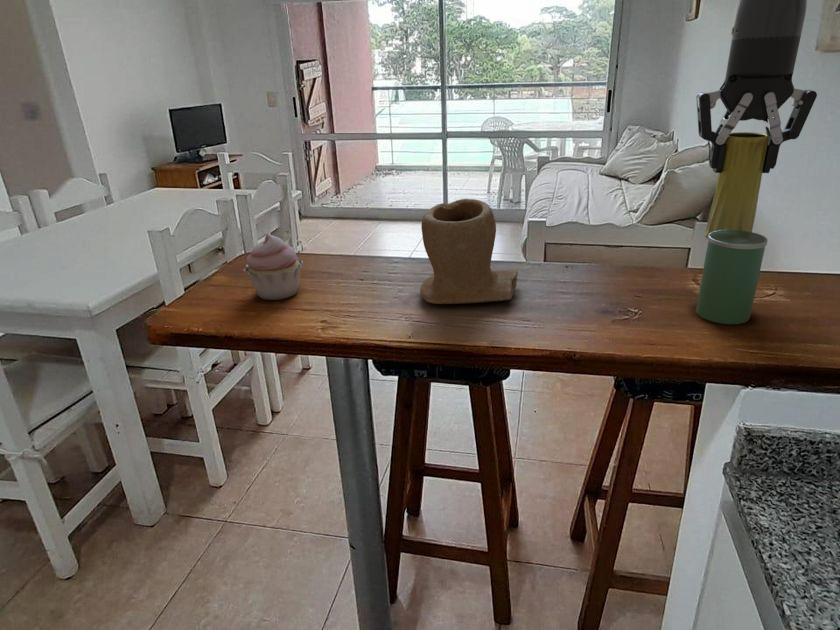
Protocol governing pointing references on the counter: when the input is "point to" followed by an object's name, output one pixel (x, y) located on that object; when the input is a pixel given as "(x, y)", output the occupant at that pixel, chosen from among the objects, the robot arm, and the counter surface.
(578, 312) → the counter surface
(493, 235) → the stone cup
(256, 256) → the cupcake
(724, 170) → the vase
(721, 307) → the green can
